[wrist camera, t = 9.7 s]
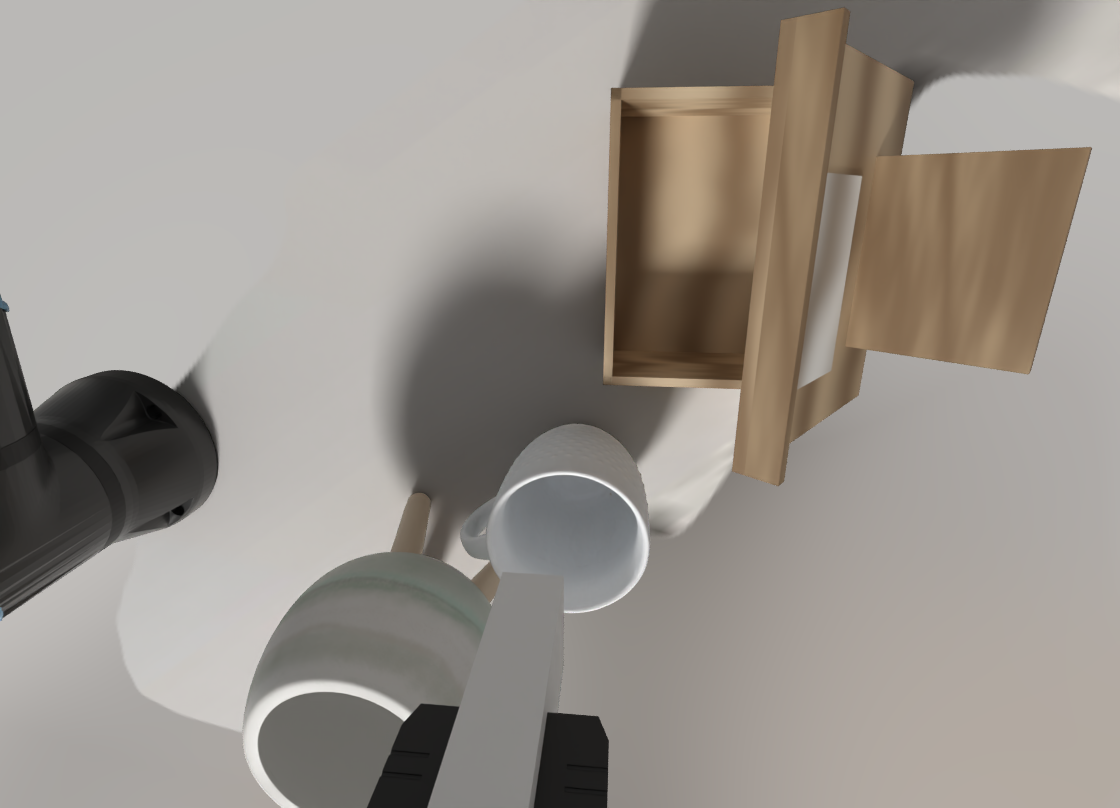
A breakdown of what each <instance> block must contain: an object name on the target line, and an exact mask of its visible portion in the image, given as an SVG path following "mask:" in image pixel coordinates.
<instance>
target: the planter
mask: <svg viewBox="0 0 1120 808" xmlns="http://www.w3.org/2000/svg"><path fill="white" fill-rule="evenodd" d="M430 507H431V502H430V499H429V498H428V496H427V495H425V494H423V493H414V494H412V495H411V496H410V497H409V499H408V501H407V504H406V506H405V509H404V512H403V515H402V519H401V522H400V525H399V528H398V531H397V534H396V537H395V540H394V543H393V546H392V549H391V552H384V553H377V554H372V555H367V556H363V557H360V558H357V559H354V560H352V561H349V562H347V563H344V564H342V565H340V566H338V567H337V568H335V569H333V570H332V571H330V572H328V573H327V574H325V575H324V576H323V577H321V578H320V579H319V580H317V581H316V582H315V583H314V584H313V585H311V586H310V587H309V588H308V589H307V590H306V591H305V592H304V593H303V594H302V595H301V596H300V597H299V598H298V600H297V601H296V602H295V603H294V604H293V605H292V607H291V608H290V609H289V611H288V612H287V613H286V615H285V616H284V617H283V619H282V620H281V622H280V623H279V625H278V626H277V628H276V630H275V631H274V633H273V635H272V637H271V638H270V640H269V642H268V644H267V646H266V648H265V650H264V652H263V655H262V657H261V659H260V661H259V664H258V666H257V669H256V671H255V674H254V677H253V680H252V683H251V686H250V690H249V694H248V698H247V702H246V707H245V712H244V721H243V748H244V753H245V757H246V760H247V763H248V765H249V768H250V770H251V772H252V774H253V776H254V777H255V779H256V780H257V782H258V783H259V785H260V786H261V787H262V789H263V790H264V791H265V792H266V793H267V794H268V795H269V796H270V797H271V798H272V799H273V800H274V801H275V802H276V803H277V804H278V805H279V806H281V807H282V808H367V806H368V804H369V801H370V799H371V796H372V794H373V792H374V789H375V787H376V785H377V782H378V780H379V777H381V775H382V770H383V768H384V765H385V763H386V761H387V758H388V756H389V755H390V754H391V749H392V746H393V744H394V742H395V739H396V737H397V734H398V732H399V730H400V727H401V725H402V724H403V722H404V721H405V720H406V719H407V718H408V717H409V716H410V715H411V714H412V713H413V712H414V710H415V709H416V708H417V707H418V706H419V705H420V704H421V703H423V704H435V705H447V706H459V707H460V704H461V701H462V698H463V694H464V691H465V688H466V685H467V682H468V679H469V676H470V673H471V669H472V666H473V663H474V660H475V657H476V654H477V651H478V648H479V644H480V641H481V638H482V635H483V632H484V629H485V626H486V623H487V619H488V616H489V613H490V610H491V607H492V606H491V604H490V602H491V601H492V599H493V598H494V597H495V594H496V591H497V588H498V585H499V582H500V579H499V577H498V576H497V574H496V573H495V571H494V569H493V567H492V565H491V563H490V562H489V563H488V564H487V565H486V566H485V567H484V568H483V569H482V570H481V571H480V572H479V573H478V574H477V575H476V576H475V577H474V578H473V579H472V580H470V579H469V578H468V577H466V576H465V575H464V574H463V573H461V572H460V571H458V570H457V569H455V568H454V567H452V566H450V565H448V564H446V563H444V562H442V561H440V560H437V559H435V558H432V557H429V556H425V555H422V551H423V546H424V541H425V535H426V530H427V524H428V518H429V512H430Z"/></svg>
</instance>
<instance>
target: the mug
mask: <svg viewBox="0 0 1120 808" xmlns="http://www.w3.org/2000/svg"><path fill="white" fill-rule="evenodd" d="M486 527H487V529H486V534H483V535H480V536H479V534H480V533H481V532H482V531H483V530H484V529H485V528H486ZM649 528H650V525H649V514H648V503H647V501H646V493H645V490H644V484H643V482H642V478H641V474H640V472H639V471H638V467H637V465H636V464H635V462H634V461H633V458H632V456H631V455H630V454H629V453H628V451H627V450H626V449H625V448H624V447H623V446H622V444H621V443H620V442H619V441H617V439H616V438H614V437H613V436H611V435H610V434H609V433H608V432H604V431H603V430H602V429H599V428H596V427H594V426H592V425H584V424H569V425H562V426H560V427H555V428H554V429H552V430H549V431H547V432H545V433H543V434H541V435H540V436H539V437H538V438H536V439H535V440H533V441H532V443H530V444H529V445H528V446H527V447H526V448H525V449H524V450H523V451H522V452H521V453H520V455H519V456H518V457H517V458H516V460H515V461H514V464H513V465H512V466H511V467H510V469H509V472H508V474H507V475H506V477H505V478H504V482H503V483H502V484H501V487H500V490H499V492H498V493H497V496H496V497H494V498H492V499H490V500H489V501H487V502H486V503H484V504H483V505H482V506H480V507H479V508H478V509H476V510H475V511H474V512H473V513H472V514H471V515H470V516H469V517H468V518H467V520H466V521H465V522H464V524H463V526H462V529H461V533H460V536H461V541H462V544H463V547H464V548H465V550H466V551H467V553H468V554H469V555H470V556H472V557H474V558H477V559H483V560H490V563H491V565H492V567H493V569H494V571H495V573H496V574H497V576H498V577H499V579H501V576H502V572H512V573H528V574H545V575H561V576H564V612H565V613H581V612H588V611H593V610H597V609H599V608H602V607H605V606H608V605H610V604H611V603H613V602H615V601H617V600H618V599H620V598H622V597H623V596H624V595H625V594H627V593H628V592H629V591H630V590H631V589H632V588H633V587H634V586H635V585H636V584H637V582H638V581H639V579H640V578H641V576H642V574H643V572H644V570H645V568H646V565H647V562H648V558H649V552H650V533H649Z"/></svg>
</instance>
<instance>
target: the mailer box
mask: <svg viewBox="0 0 1120 808" xmlns="http://www.w3.org/2000/svg"><path fill="white" fill-rule="evenodd" d="M773 88H774V86H716V87H652V88H611V113H610V150H609V186H608V223H607V259H606V296H605V332H604V369H603V385H627V386H660V387H692V388H724V389H741V384H742V375H743V366H744V356H745V347H746V338H747V329H748V319H749V310H750V301H751V292H752V283H753V273H754V264H755V255H756V246H757V236H758V227H759V218H760V209H761V199H762V190H763V181H764V172H765V162H766V153H767V144H768V135H769V125H770V116H771V107H772V98H773Z"/></svg>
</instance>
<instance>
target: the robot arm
mask: <svg viewBox="0 0 1120 808" xmlns="http://www.w3.org/2000/svg"><path fill="white" fill-rule="evenodd" d="M6 312H9V307H8V305H7V303H5V302H4V301H2V298H1V295H0V621H1V620H2V618H3V617H5V616H6V615H8V614H9V613H11V612H12V611H14V610H15V609H17V608H18V607H20V606H21V605H23V604H24V603H26V602H27V601H28V600H30V599H31V598H33V597H34V596H36V595H37V594H39V593H40V592H42V591H43V590H44V589H46V588H48V587H49V586H51V585H52V584H53V583H55V582H56V581H58V580H59V579H61V578H62V577H64V576H65V575H67V574H68V573H70V572H71V571H73V570H74V569H76V568H77V567H78V566H80V565H81V564H83V563H84V562H86V561H87V560H89V559H90V558H92V557H93V556H95V555H96V554H97V553H99V552H100V551H102V550H103V549H105V548H106V547H108V546H109V545H111V544H112V543H116V542H119V541H123V540H126V539H130V538H133V537H137V536H140V535H144V534H147V533H151V532H154V531H158V530H161V529H164V528H167V527H170V526H172V525H174V524H176V523H178V522H180V521H181V520H183V519H184V518H186V517H187V516H188V515H190V514H191V513H192V512H194V511H195V510H197V509H198V508H199V507H200V506H201V505H202V504H203V503H204V502H205V501H206V500H207V498H208V497H209V495H210V494H211V492H212V489H213V487H214V484H215V480H216V474H217V459H216V452H215V448H214V444H213V441H212V439H211V436H210V434H209V432H208V430H207V428H206V426H205V424H204V423H203V421H202V419H201V418H200V416H199V415H198V414H197V412H196V411H195V410H194V409H193V408H192V406H191V405H190V404H189V403H188V402H187V401H186V400H185V399H184V398H183V397H181V396H180V395H179V394H178V393H177V392H175V391H174V390H173V389H171V388H170V387H168V386H167V385H165V384H163V383H161V382H160V381H158V380H155V379H153V378H151V377H148V376H146V375H143V374H139V373H136V372H131V371H123V370H111V371H104V372H100V373H96V374H93V375H90V376H87V377H84V378H81V379H78V380H75V381H73V382H71V383H69V384H67V385H65V386H64V387H62V388H61V389H59V390H58V391H57V392H56V393H55V394H54V395H52V396H51V397H50V398H49V399H47V400H46V401H45V402H44V403H43V404H41V405H40V406H39V407H38V408H37V409H35V410H34V411H33V408H32V405H31V401H30V397H29V394H28V390H27V387H26V383H25V380H24V376H23V373H22V369H21V365H20V362H19V358H18V355H17V351H16V348H15V344H14V341H13V337H12V334H11V330H10V326H9V323H8V320H7V316H6ZM563 655H564V576H561V575H545V574H528V573H512V572H502V576H501V579H500V582H499V585H498V588H497V591H496V594H495V597H494V601H493V604H492V607H491V610H490V613H489V616H488V619H487V623H486V626H485V629H484V632H483V635H482V638H481V641H480V644H479V648H478V651H477V654H476V657H475V660H474V663H473V666H472V669H471V673H470V676H469V679H468V682H467V685H466V688H465V691H464V694H463V698H462V701H461V704H460V707H459V706H447V705H435V704H423V703H421V704H420V705H419V706H418V707H417V708H416V709H415V710H414V712H413V713H412V714H411V715H410V716H409V717H408V718H407V719H406V720H405V721H404V722H403V724H402V725H401V727H400V730H399V732H398V734H397V737H396V739H395V742H394V744H393V746H392V749H391V754H390V755H389V756H388V758H387V761H386V763H385V765H384V768H383V770H382V775H381V777H379V780H378V782H377V785H376V787H375V789H374V792H373V794H372V796H371V799H370V801H369V804H368V806H367V808H607V791H608V790H607V789H608V748H609V740H608V738H607V736H606V733H605V731H604V728H603V726H602V724H601V721H600V719H599V717H598V716H586V715H575V714H563V713H558V706H559V698H560V691H561V683H562V673H563V666H564V661H563V660H564V656H563Z"/></svg>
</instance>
